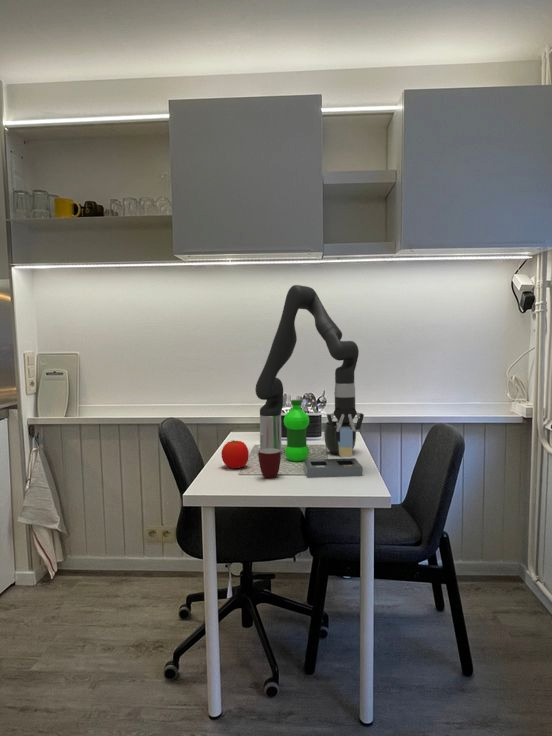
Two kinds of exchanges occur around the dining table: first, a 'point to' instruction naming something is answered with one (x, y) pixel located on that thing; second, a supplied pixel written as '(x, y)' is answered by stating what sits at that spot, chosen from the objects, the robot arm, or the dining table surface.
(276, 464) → the mug
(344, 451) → the plug
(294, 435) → the plastic bottle
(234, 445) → the tomato
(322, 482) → the dining table surface
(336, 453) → the planter
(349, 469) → the panel
